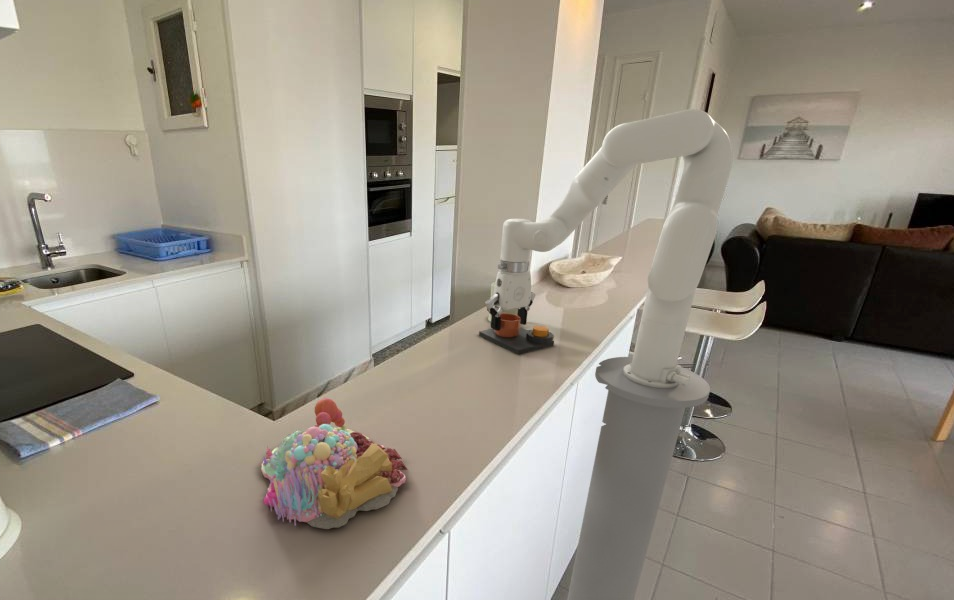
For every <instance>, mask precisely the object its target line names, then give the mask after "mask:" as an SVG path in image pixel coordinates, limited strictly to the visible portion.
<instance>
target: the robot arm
mask: <svg viewBox="0 0 954 600" xmlns="http://www.w3.org/2000/svg"><path fill="white" fill-rule="evenodd" d="M733 154H734V153H733V146H732V142H731V139H730V137H729V135H728V133H727V132H726V130H725V128H723V127H722V125H720V124H719V123H718V122H717V121H715V120H714V119H713V118H712V117H711V115H710V114H708V112H706V111H704V110H701V109H698V108H689V109H682V110H677V111H674V112H670V113H669V112H668V113H664V114H662V115H656V116H652V117H648V118H644V119H639V120H634V121H629V122H624V123H620V124H618V125H616V126H614V127H613V128H611V129H610V130H609V131H608V132H607V133H606V134H605V136H604V138H603V140H602V143H601V146H600V148H599V149H598V150H597V152H595V154H594V155H593V156H592V157H591V158H590V159H589V161H588V162H587V163H586V164H585V165H584V166H583V167H582V168H581V169H580V171H579V172H578V173H577V174H576V175H575V177H573V180H572V181H571V183H570V186H569V189H568V192H567V193H566V195H565V196H564V198H563V199H562V200H561V201H560V203H559V204H558V205H557V206H556V207H555V209H554V210H553V211H552V212H551V213H550V215H549V214H548V216H547V217H546V218H545V219H543V220H541V221H535V222H534V221H533V222H532V220H530V219H528V218H509V219H506V220H505V221H504V222H503V223H502V232H501V233H502V235H501V245H500V259H499V264H498V265H497V269H498V270H499V271H497V274H496V278H495V281H494V282H495V287H494V295H493V296H492V297H491V296H490V297H489V299H487V300H486V301H485V303H484V304H485V307H486V311H487V312H488V314H489V313H490V315H492V316H491V322H490V329H494V330H497V331H499V330H500V325H501V317H499V316H500V314H501V313H502V311H503V310H512V309H517V308H519V309H518V313H517V315H518V316H519V317H521V320H520V325H523V326H525V325H527V321H528V312H529V311H530V310H531V306H532V305H533V303H534V300H535V297H536V295H537V294H536V293H535V292H533V291H532V276H531V271H530V270H529V266H530V258H531V251H533V252H538V253H546V252H550V251H552V250H554V249H555V248H557V247H558V246H559V245H561V244H563V242H565V241H566V240H567V239H568V237H570V236H571V234H572V233H573V232H574V231H575V230H576V229H577V228H578V227H579V226H581V224H582V223H583V221H585V220H586V218H587V217H588V216H589V215H590V214H591V213H592V212H593V211H594V210H595V209H597V207H598V206H599V205H600V204H601V203H602V202H603V201H604V200H605V199H606V198H607V196H608V195H609V194H610V193H611V192H612V191H613V190H614V189H615V188H616V186H618V184H619V183H621V182H622V180H623V179H624V178H625V177H626V176H627V175H629V173H630V172H631V171H632V170H633V169H635V167H636V166H637V165H640V164H647V163H653V162H657V161H658V162H659V161H663V160H664V161H665V160H669V159H674V158H682V160H683V170H682V175H681V177H680V181H679V185H678V189H677V192H676V195H675V198H674V202H673V205H672V207H671V210H670V212H669V213H668V215H667V216H666V218H665V221H664V222H663V226H662V228H661V231H660V234H659V235H660V236H659V239H658V242H657V245H656V249H655V253H654V255H653V259H652V262H651V266H650V268H649V272H648V276H647V284H648V285H647V290H646V295H645V299H644V304H643V308H642V313H641V316H640V317H641V318H640V322H639V327H638V331H637V336H636V340H635V346H634V350H633V355H632V357H633V359H632V364H628V365H626V366H625V367H624V368H623V374H624V375H625V376H626V377H627V378H628V379H630V380H631V381H633V382H636V383H638V384H641V385H644V386H649V387H655V388H672V387H675V386H678V385H679V384H681V385H683V386H688V384H689V382H690V376H689V375H687V374H683V373H681V371H680V368H681V367H682V365H681V364H678V361H679V357H680V354H681V353H680V352H681V349H682V345H683V342H684V341H683V340H684V337H685V334H686V328H687V326H688V322H689V318H690V314H691V311H692V306H693V302H694V297H695V293H696V289H697V288H698V286H699V284H700V282H701V278H702V275H703V273H704V270H705V267H706V266H707V265H706V264H707V261H708V259H709V256H710V254H711V250H712V247H713V244H714V241H715V238H716V235H717V231H718V227H719V226H718V225H719V224H718V216H719V210H720V208H721V204H722V201H723V199H724V196H725V191H726V188H727V185H728V181H729V178H730V175H731V170H732V165H733V157H734V156H733ZM493 305H494V307H493ZM498 308H499V309H498ZM497 309H498V311H496V310H497Z"/></svg>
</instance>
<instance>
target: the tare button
mask: <svg viewBox="0 0 954 600" xmlns="http://www.w3.org/2000/svg"><path fill="white" fill-rule="evenodd" d="M532 330H533V334H532V335H535V336H539V337H546V336H548V331H549V327H547V326H543V325H535V326H533V328H532Z"/></svg>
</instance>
